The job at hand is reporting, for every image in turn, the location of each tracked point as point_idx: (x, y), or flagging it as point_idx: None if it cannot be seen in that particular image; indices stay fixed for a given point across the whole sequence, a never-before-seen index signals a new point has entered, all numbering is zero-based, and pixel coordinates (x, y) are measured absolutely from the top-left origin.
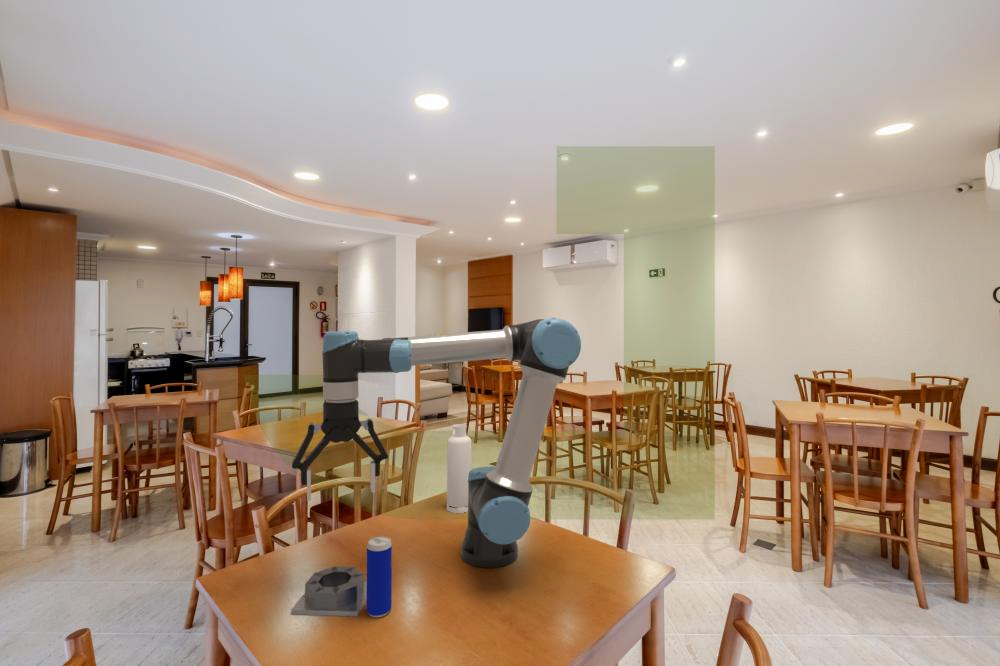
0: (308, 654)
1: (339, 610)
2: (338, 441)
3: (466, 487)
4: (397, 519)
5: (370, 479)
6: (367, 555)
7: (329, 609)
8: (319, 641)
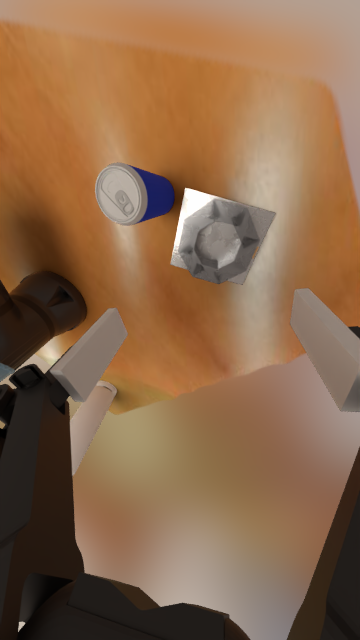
0: (252, 78)
1: (209, 196)
2: (172, 627)
3: (83, 403)
4: (160, 386)
5: (114, 349)
6: (148, 184)
7: (223, 200)
8: (235, 121)
